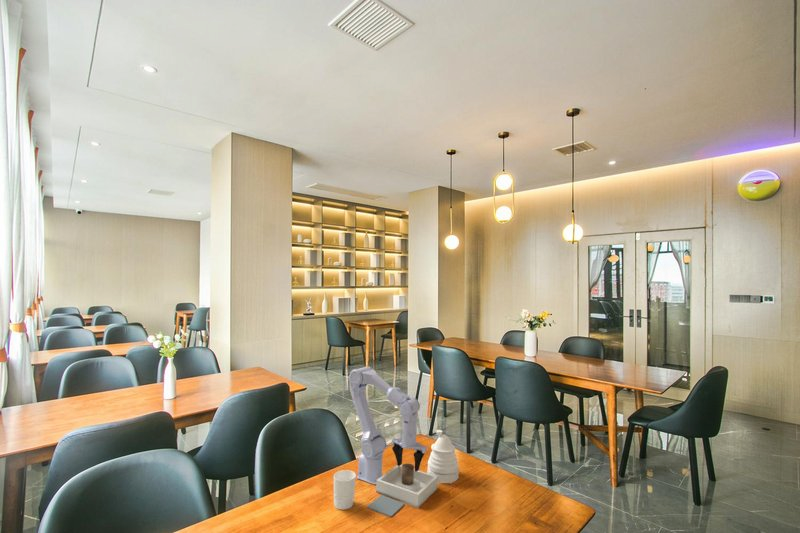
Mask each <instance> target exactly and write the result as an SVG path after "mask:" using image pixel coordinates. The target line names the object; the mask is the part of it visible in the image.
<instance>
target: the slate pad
mask: <svg viewBox="0 0 800 533" xmlns="http://www.w3.org/2000/svg"><path fill="white" fill-rule="evenodd" d="M405 505H406V503H403V502H400V501H398V500H395V499H392V498H390V497H387V496H384V495H382V494H380V495H379V496H378V497H377V498H375V499H374V500H373V501H372V502H370V504H368V505H367V506H366V508H367V509H369V510H372V511H374V512H377V513H379V514H381V515H383V516H386V517H389V518H393V516H394V515H396V514H397V513H398V512H399V511H400V510H401V509H402V508H403V507H404V506H405Z"/></svg>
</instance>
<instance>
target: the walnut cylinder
mask: <svg viewBox="0 0 800 533" xmlns="http://www.w3.org/2000/svg"><path fill="white" fill-rule="evenodd" d="M401 465H402V484H404V485H412V484H413V480H414V469H415V464H412V463H404V464H403V463H402V464H401Z"/></svg>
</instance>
